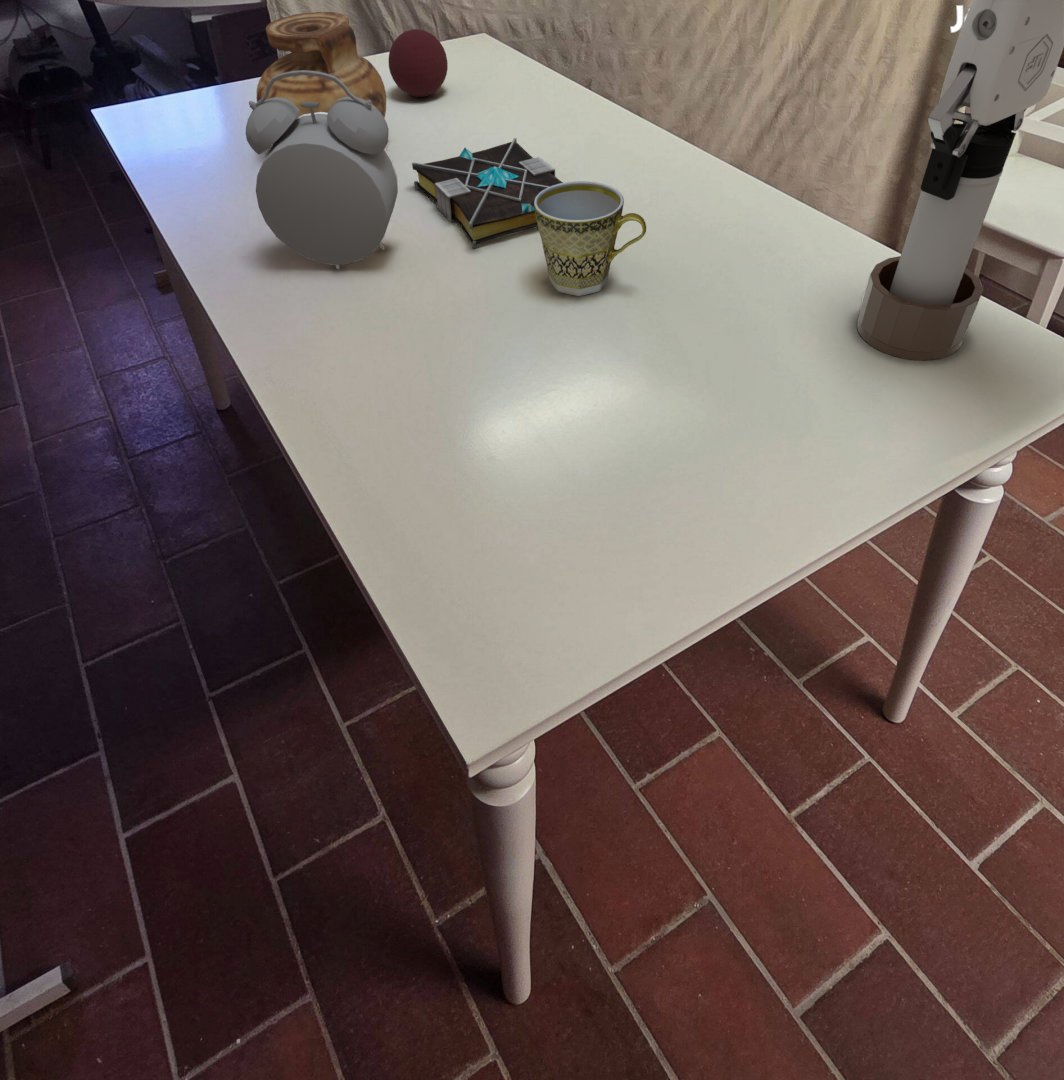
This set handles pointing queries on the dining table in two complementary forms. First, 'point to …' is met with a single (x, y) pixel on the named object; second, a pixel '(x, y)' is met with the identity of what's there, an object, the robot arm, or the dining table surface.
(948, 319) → the holder
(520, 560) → the dining table surface
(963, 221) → the travel mug
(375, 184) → the alarm clock
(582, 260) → the ceramic cup
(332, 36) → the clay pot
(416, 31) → the decorative ball
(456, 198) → the book
